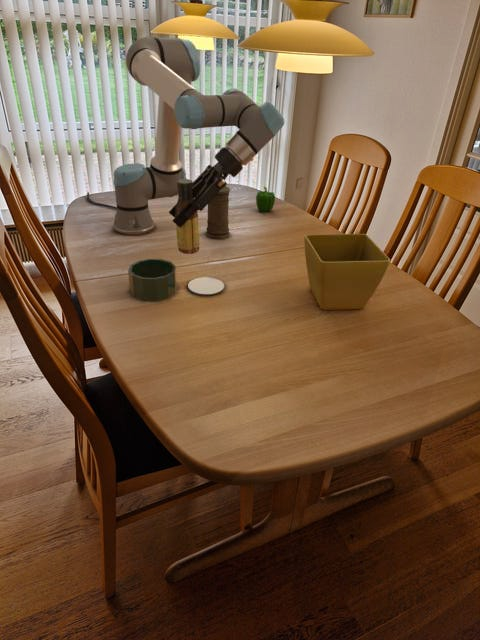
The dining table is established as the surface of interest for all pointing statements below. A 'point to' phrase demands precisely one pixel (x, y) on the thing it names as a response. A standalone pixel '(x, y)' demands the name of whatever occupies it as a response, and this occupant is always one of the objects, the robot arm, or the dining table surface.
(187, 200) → the sauce bottle
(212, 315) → the dining table surface
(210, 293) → the coaster
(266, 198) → the bell pepper
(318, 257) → the flower pot
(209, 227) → the container
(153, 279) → the crock
